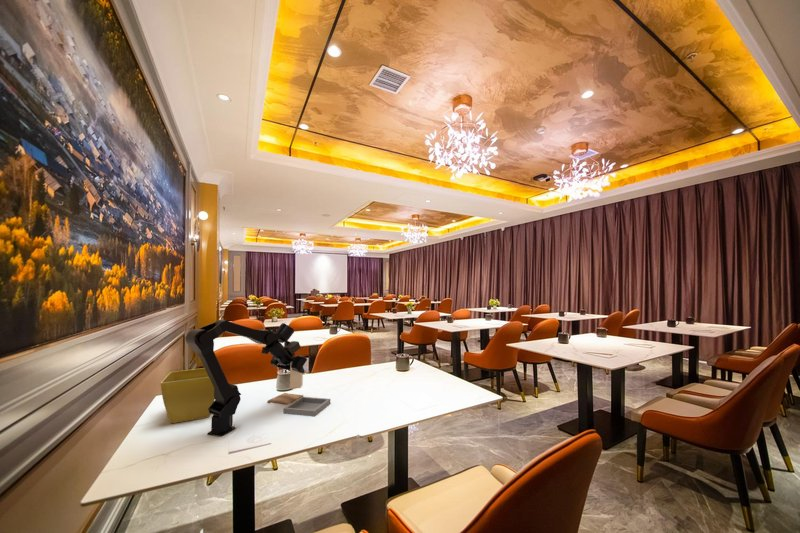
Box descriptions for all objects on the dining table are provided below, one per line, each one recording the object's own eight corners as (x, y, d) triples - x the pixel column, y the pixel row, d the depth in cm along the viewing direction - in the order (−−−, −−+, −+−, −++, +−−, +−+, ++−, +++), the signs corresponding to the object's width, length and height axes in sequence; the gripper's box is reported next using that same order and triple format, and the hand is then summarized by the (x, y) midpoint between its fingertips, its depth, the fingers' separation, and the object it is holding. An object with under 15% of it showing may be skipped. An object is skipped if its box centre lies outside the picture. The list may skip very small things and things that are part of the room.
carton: (300, 388, 137) (300, 362, 138) (290, 388, 137) (290, 362, 137) (302, 384, 141) (302, 359, 142) (292, 385, 141) (292, 360, 142)
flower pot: (168, 411, 130) (170, 371, 132) (220, 403, 139) (221, 365, 140) (157, 429, 113) (159, 383, 115) (217, 419, 122) (218, 375, 123)
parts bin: (314, 417, 122) (314, 411, 122) (283, 414, 125) (283, 408, 126) (330, 404, 136) (330, 398, 136) (302, 402, 139) (302, 396, 139)
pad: (287, 405, 135) (287, 403, 135) (267, 402, 139) (267, 400, 139) (303, 397, 145) (303, 395, 145) (284, 394, 149) (284, 392, 149)
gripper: (303, 337, 132) (322, 358, 141) (276, 334, 142) (296, 354, 151) (288, 359, 125) (309, 380, 134) (260, 355, 135) (281, 374, 144)
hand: (299, 371), depth 141 cm, fingers closed on carton, 6 cm apart
